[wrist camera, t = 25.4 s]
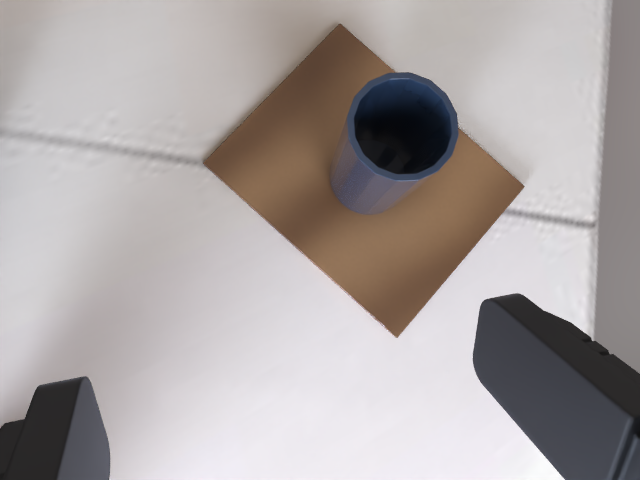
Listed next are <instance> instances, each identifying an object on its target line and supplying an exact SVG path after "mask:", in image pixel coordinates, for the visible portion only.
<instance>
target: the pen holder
mask: <svg viewBox="0 0 640 480" xmlns="http://www.w3.org/2000/svg"><path fill="white" fill-rule="evenodd" d="M458 136H459V132H458V121H457V113H456V111H455V109H454V107H453V105H452V103H451V102H450V100H449V98H448V96H447V94H446V93H445V92H443V91H442V90H441V89H440V88H439V87H438V86H437V85H436V84H434V83H433V82H432V81H431V80H429V79H426V78H424V77H421V76H418V75H416V74H413V73H409V72H405V73H387V74H384V75H382V76H380V77H377V78H375V79H373V80H371V81H369V82H367V84H366V85H365V86H364V87H363V88H362V89H361V90H360V91H359V92H358V93H357V94H356V95H355V96H354V98H353V101H352V104H351V106H350V109H349V112H348V115H347V118H346V121H345V124H344V127H343V130H342V133H341V136H340V138H339V141H338V144H337V147H336V150H335V153H334V156H333V159H332V162H331V165H330V173H329V178H330V184H331V188H332V190H333V192H334V194H335V196H336V197H337V199H338V200H339V201H340V202H341V203H342V204H343V205H344V206H345V207H347V208H348V209H350V210H351V211H354V212H356V213H360V214H365V215H375V214H380V213H383V212H386V211H388V210H389V209H391V208H393V207H395V206H396V205H397V204H399V203H400V202H401V201H402V200H403V199H405V198H406V197H407V196H408V195H410V194H411V193H412V192H413V191H415V190H416V189H417V188H418V187H419V186H421V185H422V184H423V183H424V182H426V181H427V180H428V179H429V178H431V177H432V176H433V175H434V174H435V173H437V172H438V171H439V170H440V169H441V168H442V167H443V165H444V164H445V163H446V162H447V161H448V160H449V159H450V158H451V156H452V155H453V152H454V149H455V145H456V142H457V139H458Z"/></svg>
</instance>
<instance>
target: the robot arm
mask: <svg viewBox="0 0 640 480" xmlns="http://www.w3.org/2000/svg"><path fill="white" fill-rule="evenodd" d="M473 364H474V368H475V372H476V374H477V376H478V378H479V380H480V382H481V383H482V384H483V386H484V387H485V388H486V389H487V390H488V391H489V392H490V394H491V395H492V396H493V397H494V398H495V399H496V401H497V402H498V403H499V404H500V405H501V406H502V407H503V409H504V410H505V411H506V412H507V413H508V414H509V415H510V417H511V418H512V419H513V420H514V421H515V422H516V424H517V425H518V426H519V427H520V428H521V429H522V430H523V432H524V433H525V434H526V435H527V436H528V437H529V439H530V440H531V441H532V442H533V443H534V444H535V445H536V447H537V448H538V449H539V450H540V451H541V452H542V454H543V455H544V456H545V457H546V458H547V459H548V460H549V462H550V463H551V464H552V465H553V466H554V467H555V469H556V470H557V471H558V472H559V473H560V474H561V475H562V477H563V478H564V479H565V480H640V374H639V373H638V372H636V371H635V370H634V369H632V368H631V367H630V366H628V365H627V364H626V363H624V362H623V361H622V360H620V359H619V358H617V357H616V356H615V355H614V354H611V355H610V354H609V352H608V350H607V349H606V348H604V347H603V346H602V345H600V344H599V343H597V342H596V341H592V340H591V337H589V336H588V335H587V334H585V333H584V332H583V331H581V330H580V329H579V328H577V327H576V326H575V325H573V324H572V323H571V322H568V321H566V320H564V319H562V318H559V317H557V316H555V315H553V314H551V313H548V312H546V311H543V310H542V309H541V308H539V307H538V306H537V305H535V304H534V303H533V302H532V301H530V300H529V299H528V298H526V297H525V296H523V295H521V294H518V293H516V294H510V295H505V296H500V297H495V298H490V299H486V300H484V301H483V302H482V304H481V306H480V311H479V318H478V324H477V331H476V338H475V344H474V351H473ZM109 476H110V449H109V442H108V438H107V434H106V431H105V428H104V424H103V421H102V418H101V414H100V411H99V408H98V404H97V401H96V398H95V394H94V391H93V388H92V385H91V382H90V380H89V378H88V377H86V376H84V377H79V378H74V379H69V380H64V381H59V382H54V383H48V384H43V385H39V386H38V387H37V389H36V390H35V393H34V395H33V398H32V401H31V403H30V406H29V409H28V411H27V414H26V417H25V419H23V420H18V421H13V422H9V423H5V424H4V425H3V426H2V427H1V428H0V480H109Z"/></svg>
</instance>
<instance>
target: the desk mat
mask: <svg viewBox="0 0 640 480" xmlns="http://www.w3.org/2000/svg"><path fill="white" fill-rule="evenodd" d="M387 73H396V72H394V71H393V70H392V69H391V68H390V67H389V66H388V65H386V64H385V63H384V62H383V61H382V60H381V59H380V58H379V57H377V56H376V55H375V54H374V53H373V52H372V51H371V50H369V49H368V48H367V47H366V46H365V45H364V44H363V43H362V42H360V41H359V40H358V39H357V38H356V37H355V36H354V35H352V34H351V33H350V32H349V31H348V30H347V29H346V28H345V27H343V26H342V25H341V24H339V25H338V26H337V27H336V28H335V29H334V30H333V31H332V32H331V33H330V34H329V35H328V36H327V37H326V38H325V39H324V40H323V41H322V42H321V43H320V44H319V45H318V46H317V47H316V48H315V49H314V50H313V51H312V52H311V54H310V55H309V56H308V57H307V58H306V59H305V60H304V61H303V62H302V63H301V64H300V65H299V66H298V67H297V68H296V69H295V70H294V71H293V72H292V73H291V74H290V75H289V76H288V77H287V78H286V79H285V80H284V81H283V82H282V83H281V84H280V85H279V86H278V87H277V88H276V89H275V90H274V91H273V92H272V93H271V94H270V95H269V96H268V97H267V98H266V99H265V100H264V101H263V102H262V103H261V104H260V106H259V107H258V108H257V109H256V110H255V111H254V112H253V113H252V114H251V115H250V116H249V117H248V118H247V119H246V120H245V121H244V122H243V123H242V124H241V125H240V126H239V127H238V128H237V129H236V130H235V131H234V132H233V133H232V134H231V135H230V136H229V137H228V138H227V139H226V140H225V141H224V142H223V143H222V144H221V145H220V146H219V147H218V148H217V149H216V150H215V151H214V152H213V153H212V154H211V155H210V156H209V158H208V159H207V160H206V161H205V162H204V163H203V164H204V165H205V166H206V167H207V168H208V169H209V170H210V171H212V172H213V173H214V174H215V175H216V176H217V177H218V178H219V179H220V180H221V181H223V182H224V183H225V184H226V185H227V186H228V187H229V188H230V189H231V190H233V191H234V192H235V193H236V194H237V195H238V196H239V197H240V198H241V199H243V200H244V201H245V202H246V203H247V204H248V205H249V206H250V207H251V208H253V209H254V210H255V211H256V212H257V213H258V214H259V215H260V216H261V217H263V218H264V219H265V220H266V221H267V222H268V223H269V224H270V225H271V226H273V227H274V228H275V229H276V230H277V231H278V232H279V233H280V234H281V235H283V236H284V237H285V238H286V239H287V240H288V241H289V242H290V243H291V244H292V245H294V246H295V247H296V248H297V249H298V250H299V251H300V252H301V253H302V254H304V255H305V256H306V257H307V258H308V259H309V260H310V261H311V262H312V263H314V264H315V265H316V266H317V267H318V268H319V269H320V270H321V271H322V272H324V273H325V274H326V275H327V276H328V277H329V278H330V279H331V280H332V281H334V282H335V283H336V284H337V285H338V286H339V287H340V288H341V289H342V290H344V291H345V292H346V293H347V294H348V295H349V296H350V297H351V298H352V299H353V300H355V301H356V302H357V303H358V304H359V305H360V306H361V307H362V308H363V309H365V310H366V311H367V312H368V313H369V314H370V315H371V316H372V317H373V318H375V319H376V320H377V321H378V322H379V323H380V324H381V325H382V326H383V327H385V328H386V329H387V330H388V331H389V332H390V333H391V334H392V335H393V336H395V337H396V338H398V336H399V335H400V334H401V333H402V332H403V330H404V329H405V328H406V327H407V326H408V325H409V323H410V322H411V321H412V320H413V319H414V317H415V316H416V315H417V314H418V313H419V311H420V310H421V309H422V308H423V307H424V306H425V304H426V303H427V302H428V301H429V300H430V298H431V297H432V296H433V295H434V294H435V293H436V291H437V290H438V289H439V288H440V287H441V285H442V284H443V283H444V282H445V281H446V279H447V278H448V277H449V276H450V275H451V274H452V272H453V271H454V270H455V269H456V268H457V266H458V265H459V264H460V263H461V262H462V260H463V259H464V258H465V257H466V256H467V255H468V253H469V252H470V251H471V250H472V249H473V247H474V246H475V245H476V244H477V243H478V241H479V240H480V239H481V238H482V237H483V236H484V234H485V233H486V232H487V231H488V230H489V228H490V227H491V226H492V225H493V224H494V223H495V221H496V220H497V219H498V218H499V217H500V215H501V214H502V213H503V212H504V211H505V209H506V208H507V207H508V206H509V205H510V204H511V202H512V201H513V200H514V199H515V198H516V196H517V195H518V194H519V193H520V192H521V190H522V189H523V188H524V187H525V186H524V185H523V184H521V183H520V182H519V181H518V180H517V179H516V178H515V177H513V176H512V175H511V174H510V173H509V172H508V171H507V170H506V169H504V168H503V167H502V166H501V165H500V164H499V163H498V162H496V161H495V160H494V159H493V158H492V157H491V156H490V155H489V154H487V153H486V152H485V151H484V150H483V149H482V148H481V147H479V146H478V145H477V144H476V143H475V142H474V141H473V140H472V139H470V138H469V137H468V136H467V135H466V134H465V133H464V132H462V131H461V130H460V129H459V128H458V132H459V136H458V139H457V142H456V145H455V149H454V152H453V155H452V156H451V158H450V159H449V160H448V161H447V162H446V163H445V164H444V165H443V167H442V168H441V169H440V170H439V171H438V172H437V173H435V174H434V175H433V176H432V177H431V178H429V179H428V180H427V181H426V182H424V183H423V184H422V185H421V186H419V187H418V188H417V189H416V190H415V191H413V192H412V193H411V194H410V195H408V196H407V197H406V198H405V199H403V200H402V201H401V202H400V203H399V204H397V205H396V206H395V207H393V208H391V209H389V210H388V211H386V212H383V213H380V214H375V215H365V214H360V213H356V212H354V211H351V210H350V209H348V208H347V207H345V206H344V205H343V204H342V203H341V202H340V201H339V200H338V199H337V197H336V196H335V194H334V192H333V190H332V188H331V184H330V178H329V173H330V165H331V162H332V159H333V156H334V153H335V150H336V147H337V144H338V141H339V138H340V136H341V133H342V130H343V127H344V124H345V121H346V118H347V115H348V112H349V109H350V106H351V104H352V101H353V98H354V96H355V95H356V94H357V93H358V92H359V91H360V90H361V89H362V88H363V87H364V86H365V85H366V84H367V82H369V81H371V80H373V79H375V78H377V77H380V76H382V75H384V74H387Z"/></svg>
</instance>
